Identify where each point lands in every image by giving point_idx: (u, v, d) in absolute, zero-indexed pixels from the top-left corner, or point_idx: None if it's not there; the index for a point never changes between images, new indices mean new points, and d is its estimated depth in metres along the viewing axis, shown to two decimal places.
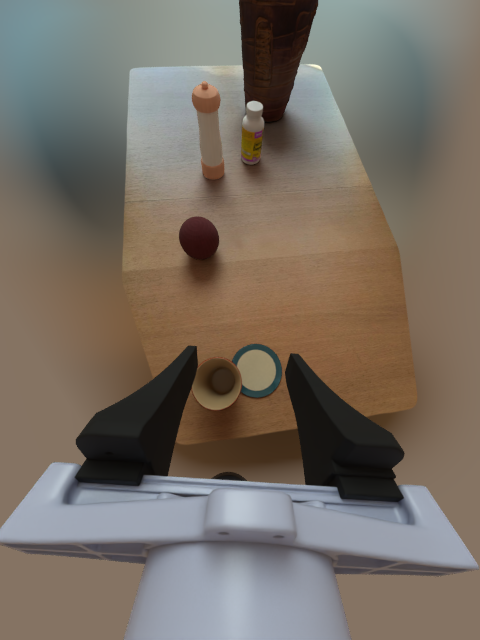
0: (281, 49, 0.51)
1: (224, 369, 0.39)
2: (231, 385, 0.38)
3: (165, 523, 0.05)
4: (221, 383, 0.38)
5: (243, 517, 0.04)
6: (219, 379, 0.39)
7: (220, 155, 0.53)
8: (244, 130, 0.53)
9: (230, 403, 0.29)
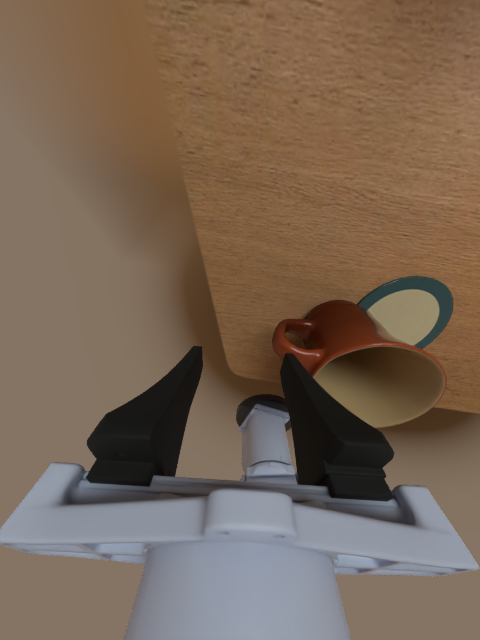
0: None
1: None
2: None
3: (165, 523, 0.05)
4: None
5: (243, 517, 0.04)
6: None
7: None
8: None
9: (372, 424, 0.15)
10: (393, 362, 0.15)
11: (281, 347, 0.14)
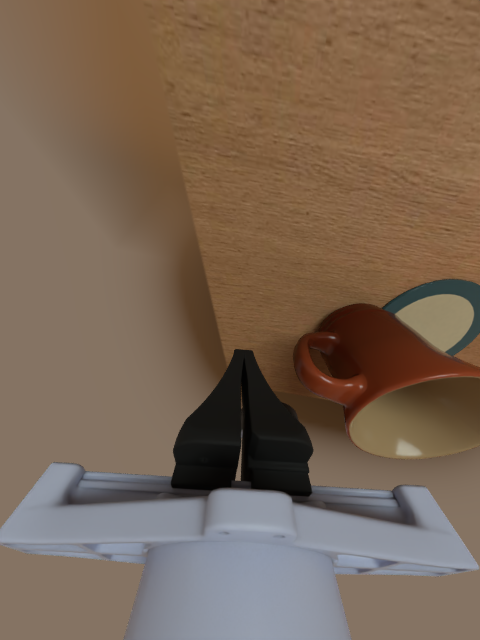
0: None
1: None
2: None
3: (165, 523, 0.05)
4: None
5: (243, 517, 0.04)
6: None
7: None
8: None
9: (420, 455, 0.12)
10: (439, 378, 0.13)
11: (311, 379, 0.11)
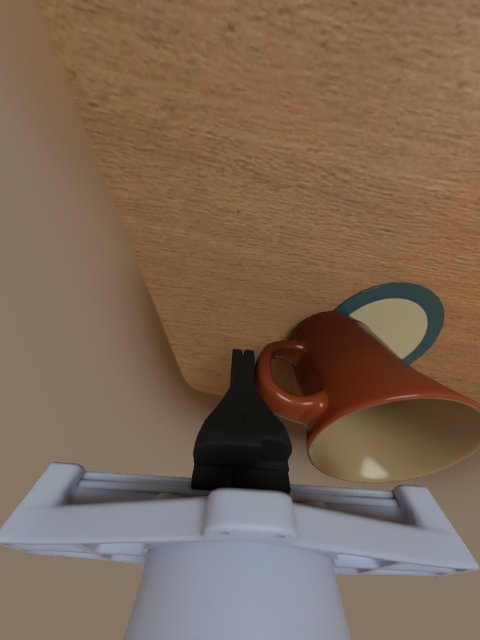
0: None
1: None
2: None
3: (165, 523, 0.05)
4: None
5: (243, 517, 0.04)
6: None
7: None
8: None
9: (386, 477, 0.11)
10: None
11: (267, 396, 0.10)
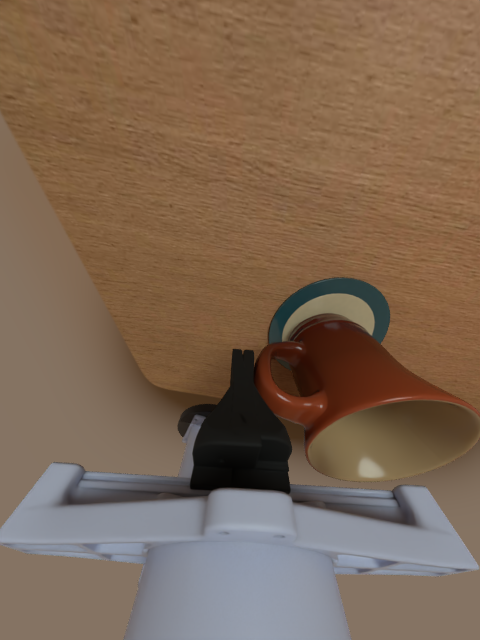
0: None
1: None
2: None
3: (165, 523, 0.05)
4: None
5: (243, 517, 0.04)
6: None
7: None
8: None
9: (380, 477, 0.12)
10: None
11: (268, 396, 0.10)
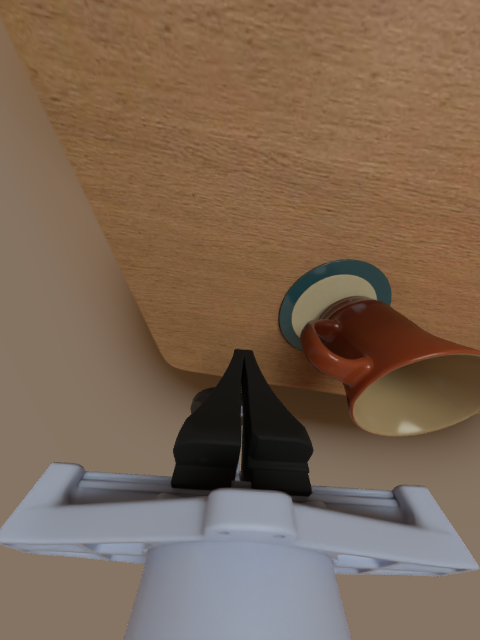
0: None
1: None
2: None
3: (165, 523, 0.05)
4: None
5: (243, 517, 0.04)
6: None
7: None
8: None
9: (410, 432, 0.14)
10: (428, 363, 0.14)
11: (322, 358, 0.11)
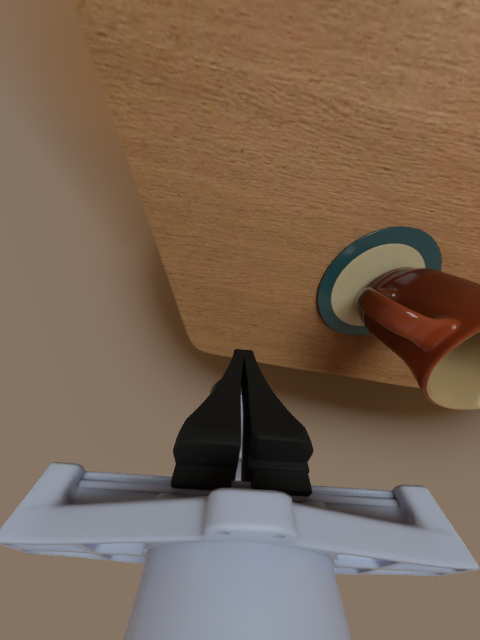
0: None
1: None
2: None
3: (165, 523, 0.05)
4: None
5: (243, 517, 0.04)
6: None
7: None
8: None
9: None
10: None
11: (401, 317, 0.10)
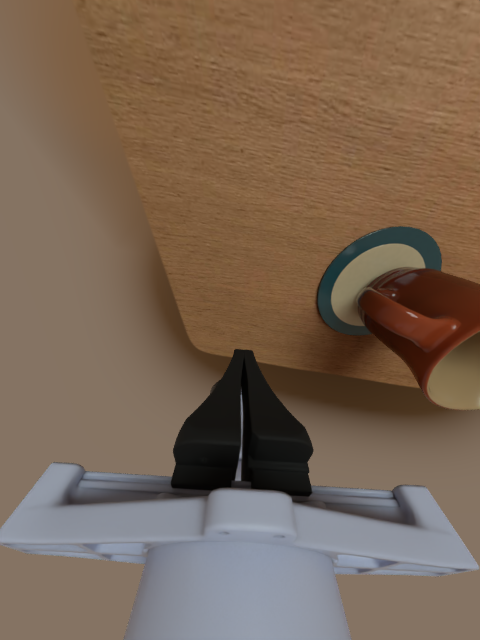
0: None
1: None
2: None
3: (165, 523, 0.05)
4: None
5: (243, 517, 0.04)
6: None
7: None
8: None
9: None
10: None
11: (401, 317, 0.10)
